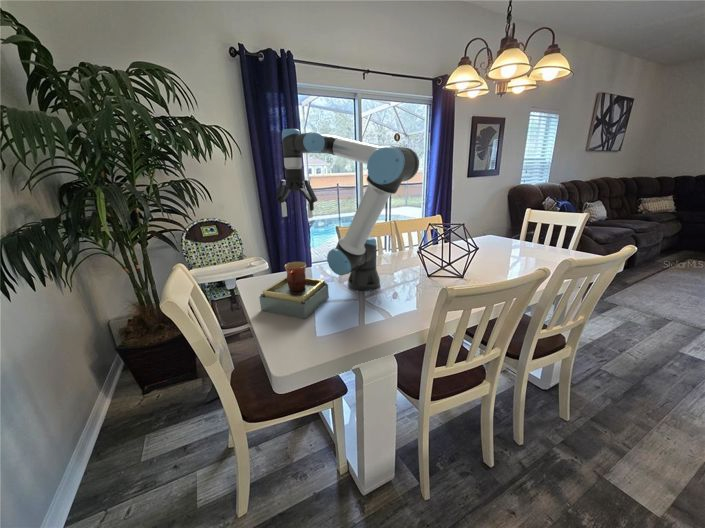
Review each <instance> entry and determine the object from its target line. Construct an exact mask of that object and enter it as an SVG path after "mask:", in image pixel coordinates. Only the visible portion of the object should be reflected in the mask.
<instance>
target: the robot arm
mask: <svg viewBox="0 0 705 528" xmlns="http://www.w3.org/2000/svg"><path fill="white" fill-rule="evenodd" d="M281 142H282V143H281V144H282V153H283V164H284V168H285V169H284V174H285V177H284V178H285V179H281V180H279V187H278V190H277V194H276V197H275V201H276V202H279V207H280V210H281V216H282V218H285V217H288V209H287V208H288V207H287V202H286V199H287V198H288V196H289V194H290V193H291V192H292V191H295V192H297V191H298V192H300V193H301V194H302V196H303V197H304V198H305V199H306V201H307V204H306V207H307V218H308V219H312V218H314V217H313V215H314V214H313V211H314V209H315V207H314V203H316V202H318V198H317V196H316V194H315V191H314V190H313V188H312V186H311V182H310V179H303V178H304V174H303V172H304V171H303V162H302V161H303V160H302V158H303V157H302V154H326V155H327V154H328V155H332V156H337V157H340V158H343V159H347V160H351V161H354V162H358V163H361V164H365V165H366V169H367V177H366V182H367V187H366V189H365V192H364V194H363V196H362V198H361V200H360V202H359V204H358V206H357V209H356V211H355V213H354V215H353V217H352V220H351V222H350V224H349V226H348V229H347V232H346V233H345V235H344V236H341V237H340V238H339V240H338V242H337V244H336V246H335V248H332V249H330V250H329V251H328V252H327V256H326V259H327V260H326V262H327V264H328V266H329V269H330V270H331V271H332V272H333V273H335V274H336V275H337V276H345V275H349V276H348V278H347V286H348V287H349V288H351V289H353V290H356V291H372V290H375V289H377V288H380V286H381V280H380V276H379V273H378V270H377V253H378V252H377V251H378V249H377V248H378V245H377V239H376V238H375V237H371V236H370V235H371V234H372V233H371V232H372V231H373V228H374V227H375V225H376V223H377V222H378V219H379V218H380V215H381V214H382V211H384V210H383V209H384V207H385V206H386V204H387V201H388V199H389V198H390V196H392V195H395V194H396V193H397V192H398V190H399V188H400V186H401V184H402V182H407V181H409V180H411V179H413V178H414V177H415V176H416V174H417V173H418V171H419V168H420V159H419V156H418V154H417V152H415V151H414V149H412V148H409V147H402V146H401V147H400V146H395V145H386V146H379V145H375V144H369V143H366V142H362V141H357V140H352V139H349V138H343V137H340V136H339V135H334V134H323V133H321V132H317V131H309V132H305V133H304V132H303V133H301V131H300V130H299V129H297V128H285V129H283V130H281Z"/></svg>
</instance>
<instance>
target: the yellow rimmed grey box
mask: <svg viewBox="0 0 705 528" xmlns="http://www.w3.org/2000/svg"><path fill="white" fill-rule="evenodd" d="M325 281H326V280H325V279H318V278H311V277H306V288H305V289H303V290H301V291H292V290H290V289H289V287H288V281H287V276H285V277H283V278H282V279H280V280H279V281H277V282H275V283H273V284H272V285H270V286H269V287H267V288H266V289H264V290H262V291H261V292H262V293H260V296H259V297H258V298H259V302H260V310H261V311H263V312H269V313H273V314H277V315H283V316H289V317H294V318H298V319H299V318H300V319H303V320H304V319H307V318H308V317H309V316H310V315H311V314H312V313H314V311H315V310H317V308H318V307H320V306H321V305H322V304H323V303H324V302H326V300H327V299H328V298H329V283H327V282H325Z"/></svg>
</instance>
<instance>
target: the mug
mask: <svg viewBox="0 0 705 528" xmlns="http://www.w3.org/2000/svg"><path fill="white" fill-rule="evenodd" d="M284 268H285V271H286V277H287V281H288V287H289V289H290V290H292V291H301V290H303V289H305V288H306V278H307V277H306V276H307V275H306V268H307V263H306V262H303V261H292V262H288V263H286V264H285V265H284Z"/></svg>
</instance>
